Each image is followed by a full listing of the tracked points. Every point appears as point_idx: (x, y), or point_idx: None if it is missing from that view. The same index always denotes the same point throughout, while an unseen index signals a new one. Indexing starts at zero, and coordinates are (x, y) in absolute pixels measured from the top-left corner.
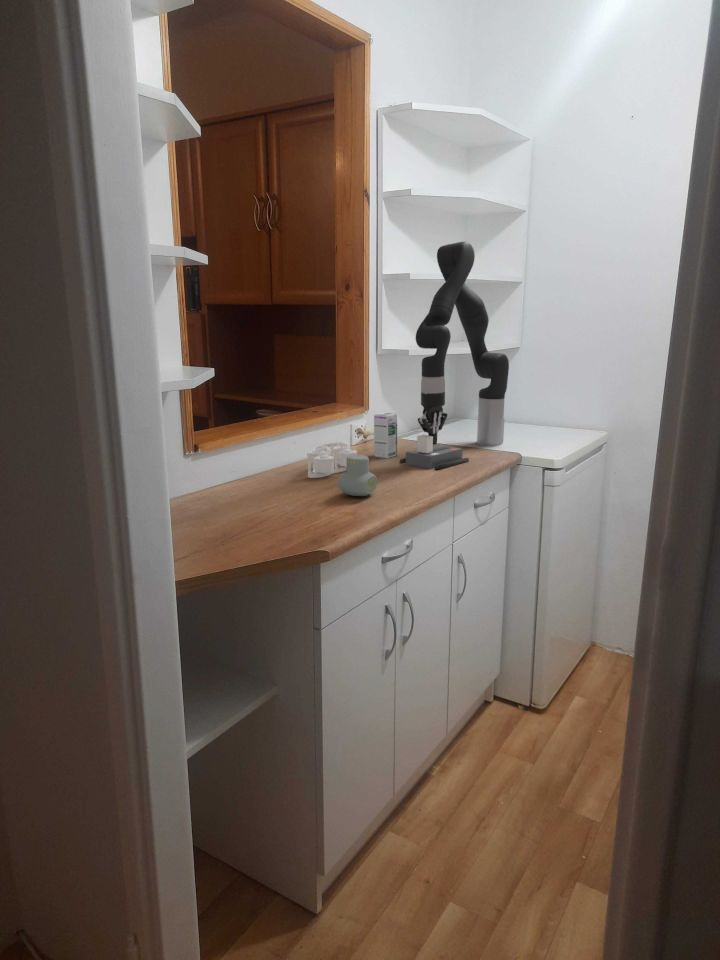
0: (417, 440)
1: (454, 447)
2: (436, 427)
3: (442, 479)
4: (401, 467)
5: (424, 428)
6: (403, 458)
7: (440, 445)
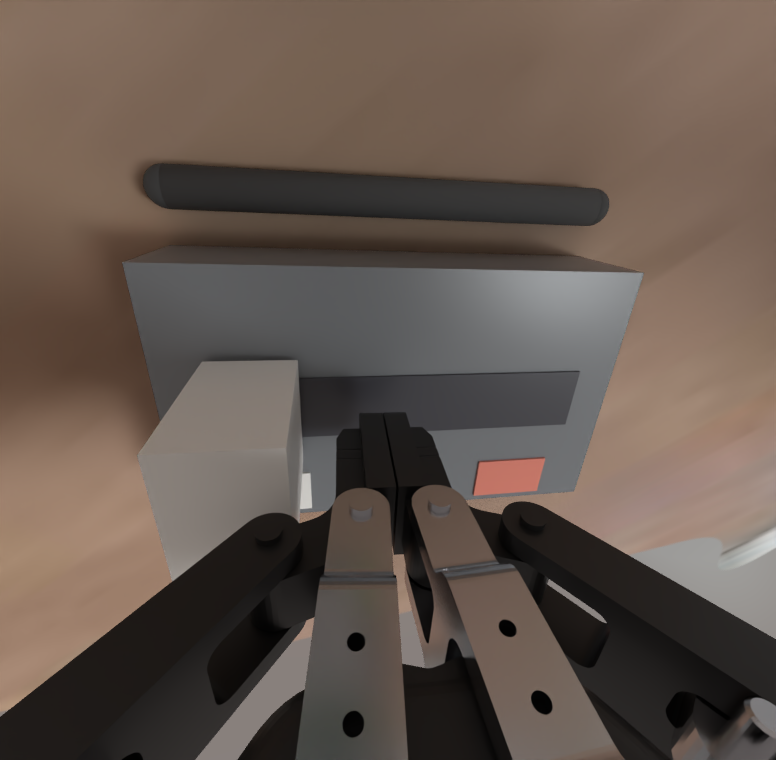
0: (164, 425)
1: (590, 432)
2: (420, 632)
3: (84, 620)
4: (57, 293)
5: (224, 586)
6: (185, 188)
7: (622, 308)
